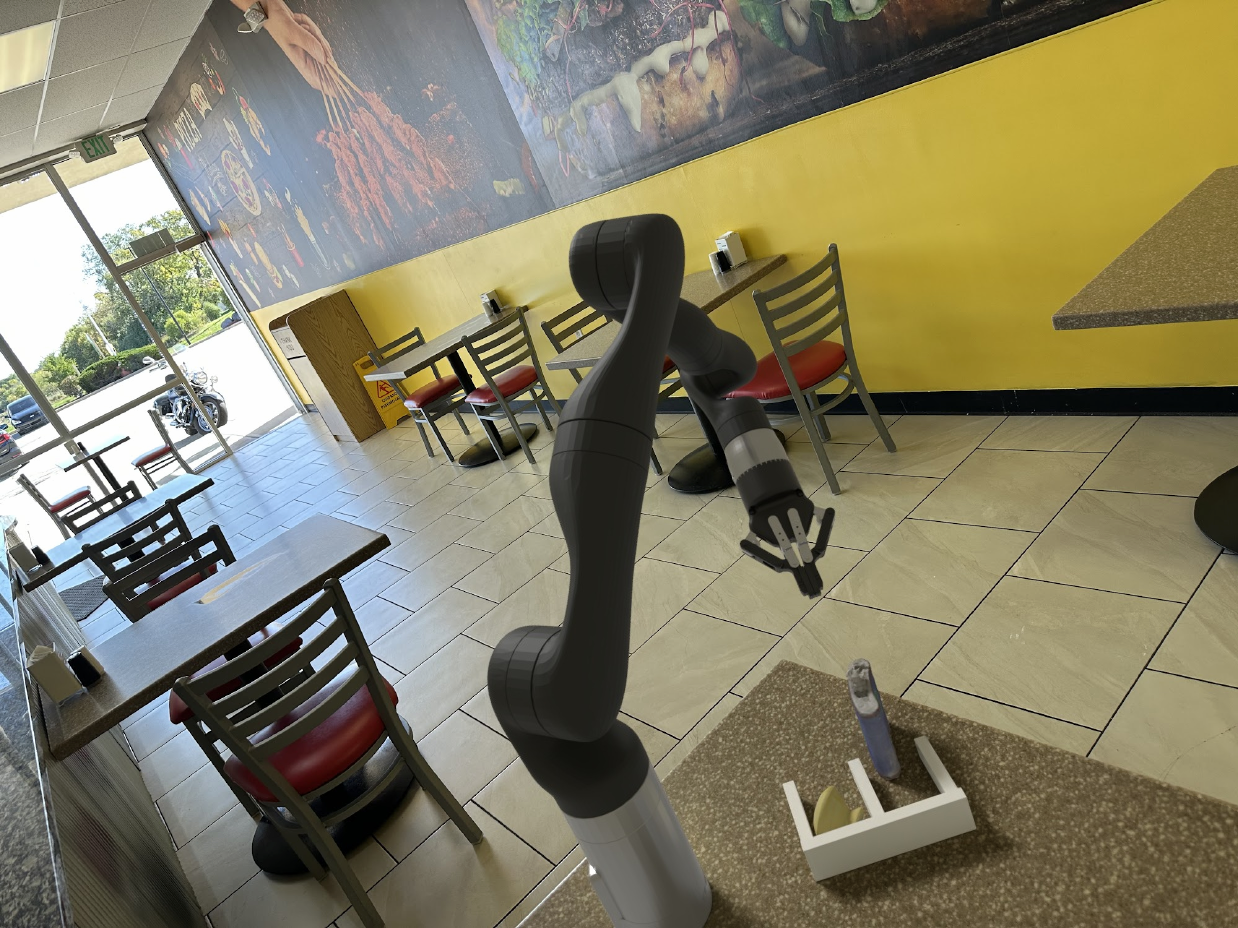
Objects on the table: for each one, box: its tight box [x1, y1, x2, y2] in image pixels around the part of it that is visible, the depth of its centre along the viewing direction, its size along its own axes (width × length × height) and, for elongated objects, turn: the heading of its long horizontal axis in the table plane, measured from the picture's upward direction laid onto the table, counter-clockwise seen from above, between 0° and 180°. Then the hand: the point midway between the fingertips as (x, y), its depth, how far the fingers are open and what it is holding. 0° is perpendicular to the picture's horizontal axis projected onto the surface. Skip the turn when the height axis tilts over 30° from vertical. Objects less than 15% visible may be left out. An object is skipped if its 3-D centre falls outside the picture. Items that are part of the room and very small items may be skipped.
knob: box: [813, 785, 865, 836], centre depth 77 cm, size 5×5×5 cm
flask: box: [845, 658, 902, 781], centre depth 84 cm, size 9×3×11 cm, turn 172°
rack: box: [782, 735, 977, 883], centre depth 78 cm, size 16×10×4 cm, turn 92°
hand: (815, 595), depth 94 cm, fingers closed
